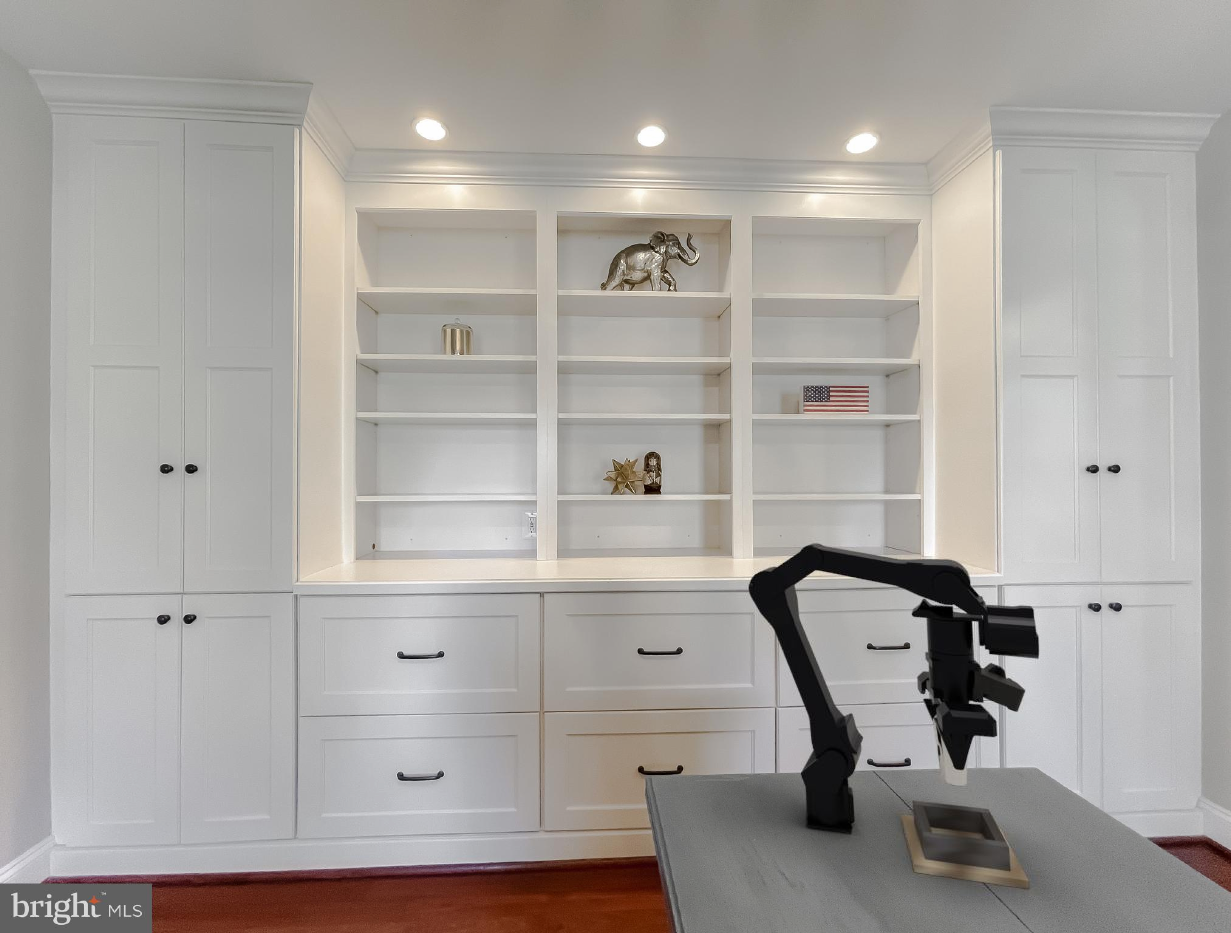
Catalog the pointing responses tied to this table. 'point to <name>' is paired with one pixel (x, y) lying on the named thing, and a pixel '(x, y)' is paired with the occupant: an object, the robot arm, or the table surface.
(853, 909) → the table surface
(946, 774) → the milkshake
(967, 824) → the dock
